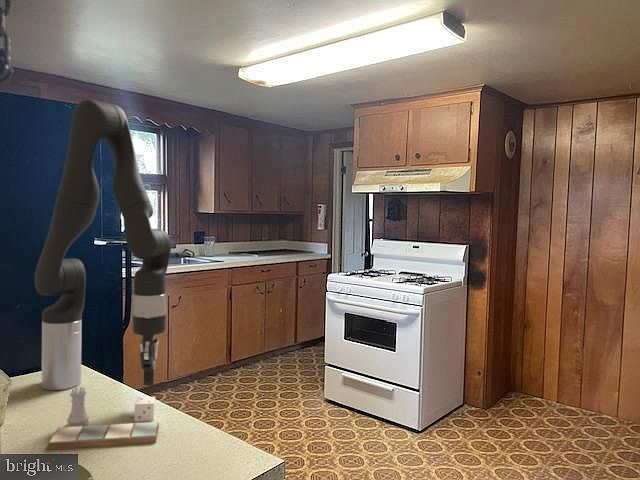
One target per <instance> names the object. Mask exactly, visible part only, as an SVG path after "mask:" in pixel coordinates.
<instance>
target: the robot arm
mask: <svg viewBox="0 0 640 480" xmlns="http://www.w3.org/2000/svg"><path fill="white" fill-rule="evenodd" d="M69 128H70V129H69V137H68V143H67V144H68V145H67V151H66V152H67V153H66V157H65V163H64V168H63V172H62V173H63V174H62V178H61V181H60V184H59V187H58V190H57V191H58V192H57V196H56V200H55V203H54V204H55V205H54V209H53V214H52V218H51V221H50V227H49V228H48V229H49V230H48V234H47V236H46V239H45V241H44V242H45V243H44V246H43V248H42V251H41V254H40V256H39V259H38V261H37V265H36V269H35V271H34V286H35V289H36V292H37V293H38V294H40V295H41V296H46V297H50V296H52V297H53V296H60V295H61V296H60V298H59V299H58V300H57V301H56V302H54V303H53V304H52V305H50V306H48V307H45V308H44V309H43V310H42V313H41V383H40V384H41V388H42V389H45V390H46V391H47V390H50V391H60V390H67V389H71V388H72V389H73V388H76V387H77V386H79V385H80V384H81V381H82V338H83V337H82V335H83V334H82V331H83V330H82V326H83V325H82V324H83V323H82V322H83V321H82V316H83V312H84V308H85V301H86V300H85V299H86V298H85V297H86V283H87V281H86V280H87V276H86V275H87V274H86V273H87V272H86V268H85V266H84V265H85V264H84V263H83V262H82V261H81V260H80V259H78V258H74V257H73V258H65V256H66V254H67V252H68V250H69V248H70V247H71V246H72V244H74V242H75V241H76V240H77V239H78V238H79V237H80V236H81V235H82V234H83V233H84V232H85V231H86V229H88V228H89V226H90V225H91V224H92V222H93V221H94V219H95V216H96V213H97V211H98V210H97V209H98V206H99V201H100V197H101V191H100V186H99V183H98V179H97V176H96V173H95V170H94V169H95V168H94V157H95V152H96V149H97V144H98V142H106V144H107V145H108V147H109V148H110V151H111V153H112V156H113V160H114V169H113V170H114V171H113V178H112V188H113V189H112V190H113V195H114V198H115V200H116V203H117V206H118V208H119V211H120V213H121V216H122V218H123V227H124V228H123V229H124V234H125V241H126V244H127V248H128V249H129V251H130V253H131V254H132V255H133V256H134V257H135V258H137V259H139V260H142V263H141V264H142V265H141V267H140V268H139V269H137V271H135V272H134V273H135V274H134V278H133V280H134V281H133V284H134V285H133V300H132V333H133V334H134V335H137V336H141V337H142V338H141V340H140V342H139V350H140V354H139V357H140V361H141V362H140V364H141V369H142V371H143V386H153V385H154V382H155V368H156V364H157V363H156V362H157V358H158V347H159V340H160V339H159V338H157V337H156V336H157V335H162V334H164V333H165V332H166V330H167V300H166V274H167V270H168V266H169V262H170V257H171V251H172V243H171V242H172V241H171V238H170V236H169V234H168V233H167V232H166V231H165V230H163V229H161V228H152V226H151V222H150V218H151V217H152V216H153V215H154V209H153V206H152V202H151V200H150V198H149V195H148V193H147V190H146V188H145V185H144V182H143V179H142V176H141V173H140V170H139V166H138V161H137V156H136V151H135V148H134V143H133V142H134V141H133V139H132V134H131V129H130V124H129V121H128V118H127V116H126V113H125V112H124V110H123V109H122V108H121V107H120V106H119V105H117V104H114V103H111V102H104V101H100V100H95V99H94V100H93V99H83V100H81V101H80V102H79V103H77V104H76V106H75V108H74V110H73V113H72V115H71V122H70V127H69Z"/></svg>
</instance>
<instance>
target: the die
mask: <svg viewBox="0 0 640 480" xmlns="http://www.w3.org/2000/svg"><path fill="white" fill-rule="evenodd" d="M155 414H156V396H143V397H142V396H141V397H140V396H139V397H138V396H137V397H136V399H135V403H134V422H145V421H146V422H152V421H154V420H155Z"/></svg>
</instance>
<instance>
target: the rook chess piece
mask: <svg viewBox="0 0 640 480" xmlns="http://www.w3.org/2000/svg"><path fill="white" fill-rule="evenodd" d="M87 394H88V393H87V391H86V389H85V387H82V386H80V387H77V386H76V387H74V388H72V389H71V392H70V394H69V395H70V397H71V400H70V402H71V409H70V410H71V411H70V414H69V415H68V417H67V420H66V422H67V423H66V426H65V427H77V426H89V423H90V421H89V419H90V416H89V415H88V413H87V412H86V407H85V401H86V398H85V396H86V395H87Z"/></svg>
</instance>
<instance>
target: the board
mask: <svg viewBox="0 0 640 480" xmlns="http://www.w3.org/2000/svg"><path fill="white" fill-rule="evenodd" d="M159 429H160V422H159V421H146V422H135V423H133V422H132V423H115V424H99V425H98V424H97V425H96V424H95V425H87V426H77V427H67V426H64V427H63V426H62V427H61V426H60V427H58V428H57V429H56V430H55V432H54V434H53V435H52V436H51V439H50V440H49V441H48V443H47V450H62V449H77V448H91V447H92V448H94V447H108V446H123V445H124V446H125V445H136V444H137V445H138V444H152V443H153V444H154V443H157V439H158V438H157V437H158V434H159Z"/></svg>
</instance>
